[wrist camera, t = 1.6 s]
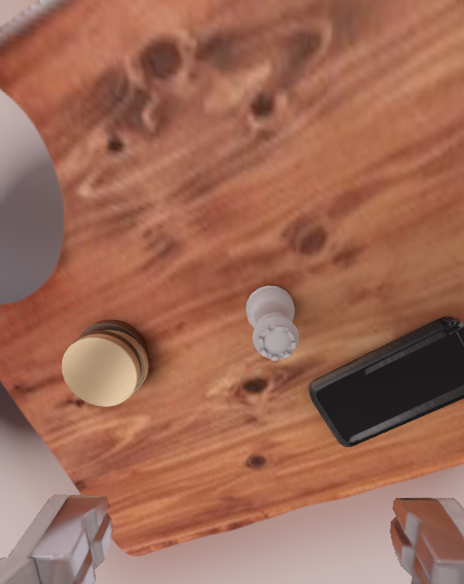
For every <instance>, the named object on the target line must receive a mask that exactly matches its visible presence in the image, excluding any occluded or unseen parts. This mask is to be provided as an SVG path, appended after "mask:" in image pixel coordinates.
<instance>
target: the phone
mask: <svg viewBox="0 0 464 584" xmlns="http://www.w3.org/2000/svg"><path fill="white" fill-rule="evenodd" d="M309 394H310V397H311V400H312V402H313V403H314V405H315V406H316V408H317V410H318V411H319V413H320V414H321V416H322V417H323V419H324V420H325V422H326V424H327V425H328V427H329V428H330V430H331V431H332V433H333V435H334V436H335V438H336V439H337V441H338V442H339V443H340V444H341V445H342V446H345V447H352V446H355V445H357V444H359V443H362V442H364V441H366V440H369V439H371V438H373V437H376V436H378V435H380V434H383V433H385V432H387V431H389V430H392V429H394V428H396V427H399V426H401V425H403V424H406V423H408V422H410V421H413V420H415V419H417V418H420V417H422V416H424V415H427V414H429V413H431V412H433V411H436V410H438V409H440V408H443V407H445V406H447V405H450V404H452V403H454V402H457V401H459V400H461V399H464V324H463V323H462V322H460V321H458V320H456V319H454V318H451V317H444V318H441V319H438V320H436V321H434V322H432V323H430V324H428V325H426V326H424V327H422V328H420V329H418V330H416V331H414V332H412V333H410V334H408V335H406V336H404V337H402V338H400V339H398V340H396V341H394V342H392V343H390V344H388V345H386V346H384V347H382V348H380V349H378V350H376V351H374V352H372V353H369V354H367V355H365V356H363V357H361V358H359V359H357V360H355V361H353V362H351V363H349V364H347V365H345V366H343V367H341V368H339V369H337V370H335V371H333V372H331V373H329V374H327V375H325V376H323V377H321V378H319V379H317V380H315V381H313V382H312V383H311V384H310V386H309Z"/></svg>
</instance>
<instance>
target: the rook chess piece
mask: <svg viewBox="0 0 464 584" xmlns="http://www.w3.org/2000/svg"><path fill="white" fill-rule="evenodd" d="M294 313H295V308H294V304H293V300H292V298H291V296H290V295H289V294H288V293H287V291H285V290H283V289H281V288H279V287H277V286H265V287H261V288H258V289H257V290H256V291H255V292H253V293H252V294H251V295H250V297H249V299H248V301H247V305H246V314H247V317H248V321H249V323H250V324H251V325H252V326H253V328H254V329H255V330H254V331H253V339H252V340H253V343H254V347H255V349H256V350H257V351H258V352H259V353H260V354H261V355H263V356H264V357H267V358H270V359H271V360H273V361H278V359H280V358H285V359H286V358H288V357H289V356H291V353H293V352H294V350H295V349H296V347H297V346H298V341H299V334H298V330H297V328H296V327H295V325H294V324H293V323H292V321H293V319H294Z"/></svg>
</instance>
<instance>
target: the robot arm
mask: <svg viewBox="0 0 464 584" xmlns="http://www.w3.org/2000/svg"><path fill="white" fill-rule="evenodd" d="M108 508H109V502H108V497H106V496H86V495H54V496H52V497H51V498H50V499H49V500H48V501H47V502H46V504H45V505H44V507H43V508H42V509H41V511H40V512H39V514H38V515H37V516H36V518H35V519H34V521H33V522H32V524H31V525H30V527H29V528H28V529H27V531H26V532H25V534H24V535H23V536H22V538H21V539H20V541H19V542H18V543H17V545H16V546H15V548H14V549H13V550H12V552H11V553H10V555H9V556H8V558H1V559H0V584H94V583H95V581H96V577H95V568H97V567H98V566H99V564H100V563H102V562H103V560H104V559H105V556H106V554H107V551H108V549H109V546H110V541H111V537H112V526H113V525H112V518H111V517H110V516H109V515H108V514H107V513H106V512H107V510H108ZM393 510H394V512H395V514H396V517H395V518H394V519H393V520H392V521H391V529H390V533H391V539H392V544H393V547H394V550H395V553H396V556H397V558H398V560H399V563H400V565H401V566H402V567H403V568H404V569H405V570H406V571H407V572H408V573H409V574H410V575H411V576H412V581H411V584H464V508H463V507H462V506H461V504H460V503H459V502H457V501H456V500H455V499H453V498H452V499H450V498H448V499H447V498H434V499H433V498H396V499H395V500H394V503H393Z"/></svg>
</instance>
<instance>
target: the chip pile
mask: <svg viewBox="0 0 464 584" xmlns="http://www.w3.org/2000/svg"><path fill="white" fill-rule="evenodd" d="M148 369H149V364H148V350H147V346H146V343H145V341H144V339H143V338H142V336H141V335H140V334H139V333H138V332H137V331H136V330H135V329H134V328H133V327H131V326H129V325H128V324H126V323H123V322H120V321H116V320H105V321H100V322H97V323H95V324H94V325H92V326H91V327H89V328H88V329H86V330H85V331H84V332H83V334H82V335H81V336H80V338H78V339H77V340H76V341H75V342H74V343H73V344H72V345H71V346H70V347H69V348H68V349H67V351H66V352H65V354H64V357H63V360H62V373H63V377H64V379H65V382H66V384H67V385H68V387H69V388H70V389H71V391H72V392H73V393H74V394H75V395H76V396H78V397H79V398H80V399H82V400H84V401H85V402H88V403H90V404H93V405H97V406H114V405H117V404H120V403H122V402H124V401H125V400H127V399H128V398H129V397H130V396H131V395H132V394H133V393H135V392H136V391H137V390H138V389H139V388H140V387H141V385H142V384H143V382H144V381H145V379H146V377H147V374H148Z"/></svg>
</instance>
